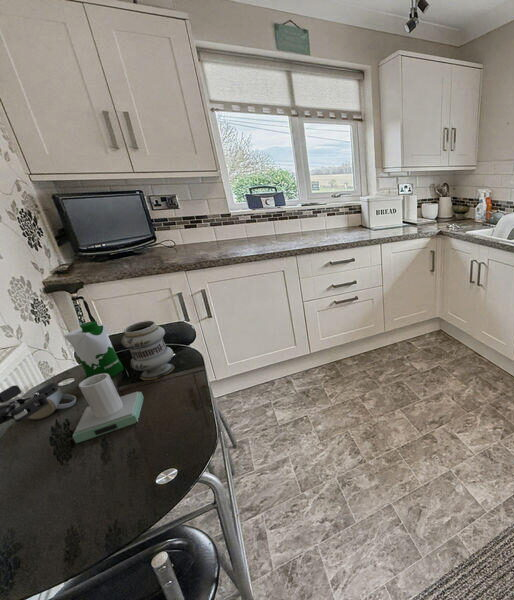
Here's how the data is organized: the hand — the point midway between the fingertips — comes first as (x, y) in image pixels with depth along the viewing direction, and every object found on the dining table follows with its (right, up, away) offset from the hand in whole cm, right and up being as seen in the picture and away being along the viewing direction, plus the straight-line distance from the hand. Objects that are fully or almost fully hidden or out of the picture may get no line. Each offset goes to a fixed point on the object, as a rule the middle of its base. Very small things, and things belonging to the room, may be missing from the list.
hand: (36, 387), depth 74 cm
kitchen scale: (+2, -14, +18) cm, 22 cm away
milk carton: (-21, -7, +41) cm, 46 cm away
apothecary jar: (-2, -6, +40) cm, 40 cm away
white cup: (+2, -11, +17) cm, 20 cm away
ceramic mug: (-21, -13, +24) cm, 35 cm away
